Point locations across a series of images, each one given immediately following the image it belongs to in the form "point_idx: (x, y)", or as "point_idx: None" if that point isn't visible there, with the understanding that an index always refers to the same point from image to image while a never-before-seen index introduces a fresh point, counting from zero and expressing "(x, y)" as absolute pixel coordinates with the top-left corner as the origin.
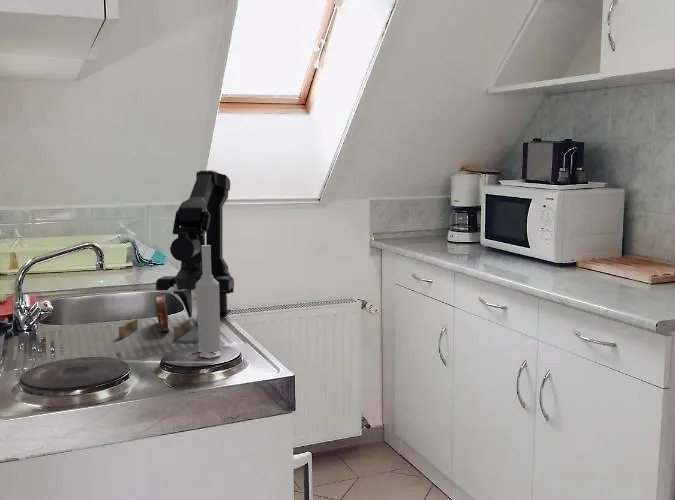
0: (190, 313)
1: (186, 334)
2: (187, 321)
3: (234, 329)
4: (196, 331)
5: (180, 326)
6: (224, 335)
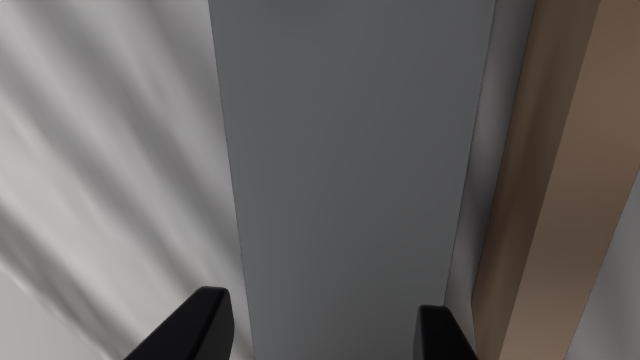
0: (419, 356)
1: (460, 75)
2: (499, 346)
3: (80, 312)
4: (368, 207)
5: (568, 95)
6: (42, 126)
